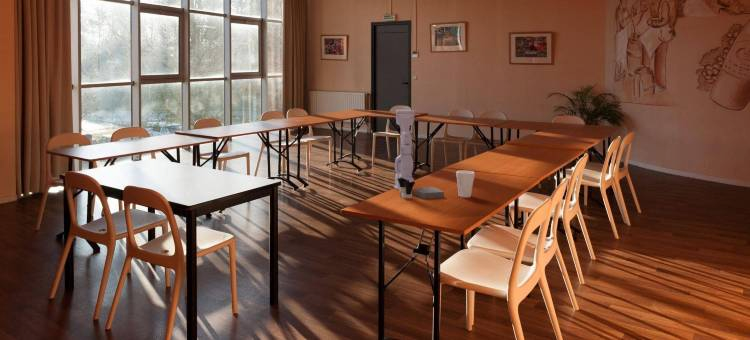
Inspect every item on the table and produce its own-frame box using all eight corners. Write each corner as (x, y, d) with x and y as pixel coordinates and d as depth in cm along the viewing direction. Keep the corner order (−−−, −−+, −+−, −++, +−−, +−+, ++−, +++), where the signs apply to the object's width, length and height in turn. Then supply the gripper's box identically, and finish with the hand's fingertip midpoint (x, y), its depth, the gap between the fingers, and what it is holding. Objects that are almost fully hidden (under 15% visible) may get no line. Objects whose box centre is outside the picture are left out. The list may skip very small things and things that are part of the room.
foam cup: (459, 198, 346) (460, 174, 344) (452, 194, 355) (453, 170, 353) (476, 197, 349) (477, 173, 347) (469, 193, 358) (470, 170, 355)
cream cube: (399, 196, 350) (399, 187, 349) (408, 195, 351) (408, 186, 350) (403, 198, 345) (403, 189, 344) (411, 198, 347) (412, 188, 346)
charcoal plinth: (413, 194, 356) (413, 188, 355) (434, 192, 360) (434, 187, 359) (422, 198, 344) (423, 193, 344) (443, 197, 349) (443, 191, 348)
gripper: (394, 165, 350) (393, 190, 353) (404, 170, 337) (404, 196, 340) (406, 164, 353) (405, 189, 355) (417, 169, 339) (416, 195, 342)
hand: (405, 192), depth 348 cm, fingers open, 7 cm apart
